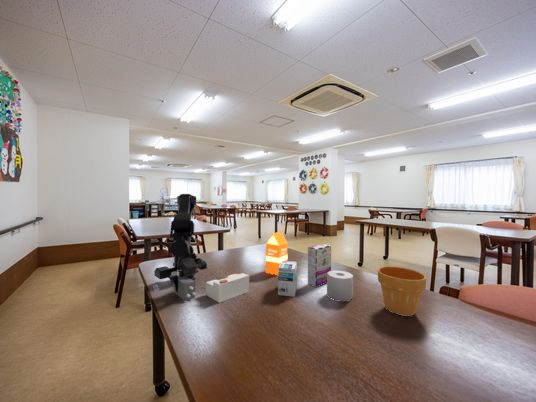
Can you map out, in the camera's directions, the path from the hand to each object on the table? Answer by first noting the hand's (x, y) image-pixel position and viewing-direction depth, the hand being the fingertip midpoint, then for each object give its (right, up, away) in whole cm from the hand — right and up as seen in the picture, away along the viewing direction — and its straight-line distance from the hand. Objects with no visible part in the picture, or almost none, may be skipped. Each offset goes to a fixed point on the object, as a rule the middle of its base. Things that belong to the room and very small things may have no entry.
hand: (182, 290), depth 91 cm
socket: (+18, -2, +1) cm, 18 cm away
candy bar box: (+56, -2, +14) cm, 58 cm away
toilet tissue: (+61, -2, +1) cm, 61 cm away
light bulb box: (+41, -2, +4) cm, 42 cm away
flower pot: (+78, -3, -11) cm, 79 cm away
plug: (+2, -1, -2) cm, 3 cm away
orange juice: (+38, -1, +28) cm, 47 cm away
